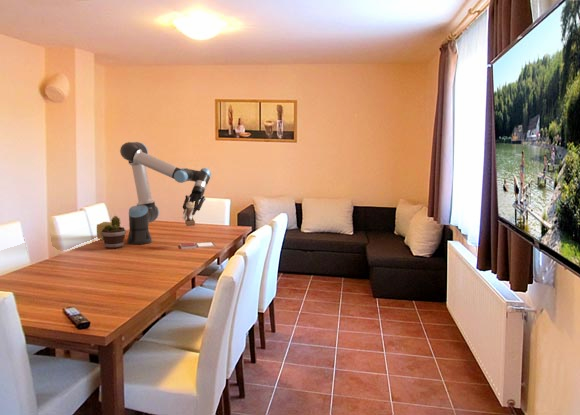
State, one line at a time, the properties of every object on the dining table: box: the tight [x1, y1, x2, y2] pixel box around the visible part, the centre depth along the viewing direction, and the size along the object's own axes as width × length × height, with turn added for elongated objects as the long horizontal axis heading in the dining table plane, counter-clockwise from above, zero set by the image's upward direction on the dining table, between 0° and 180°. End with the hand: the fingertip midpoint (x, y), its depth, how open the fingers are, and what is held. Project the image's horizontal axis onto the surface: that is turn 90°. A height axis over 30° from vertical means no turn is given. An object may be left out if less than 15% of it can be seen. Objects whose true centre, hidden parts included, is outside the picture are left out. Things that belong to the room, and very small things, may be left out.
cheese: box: [96, 221, 113, 240], centre depth 299 cm, size 10×11×10 cm
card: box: [194, 241, 216, 248], centre depth 283 cm, size 11×11×1 cm
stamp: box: [184, 201, 196, 227], centre depth 275 cm, size 7×5×15 cm
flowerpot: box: [100, 214, 127, 250], centre depth 272 cm, size 14×15×20 cm
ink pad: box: [179, 242, 197, 250], centre depth 278 cm, size 9×9×2 cm
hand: (186, 218), depth 272 cm, fingers closed on stamp, 3 cm apart
